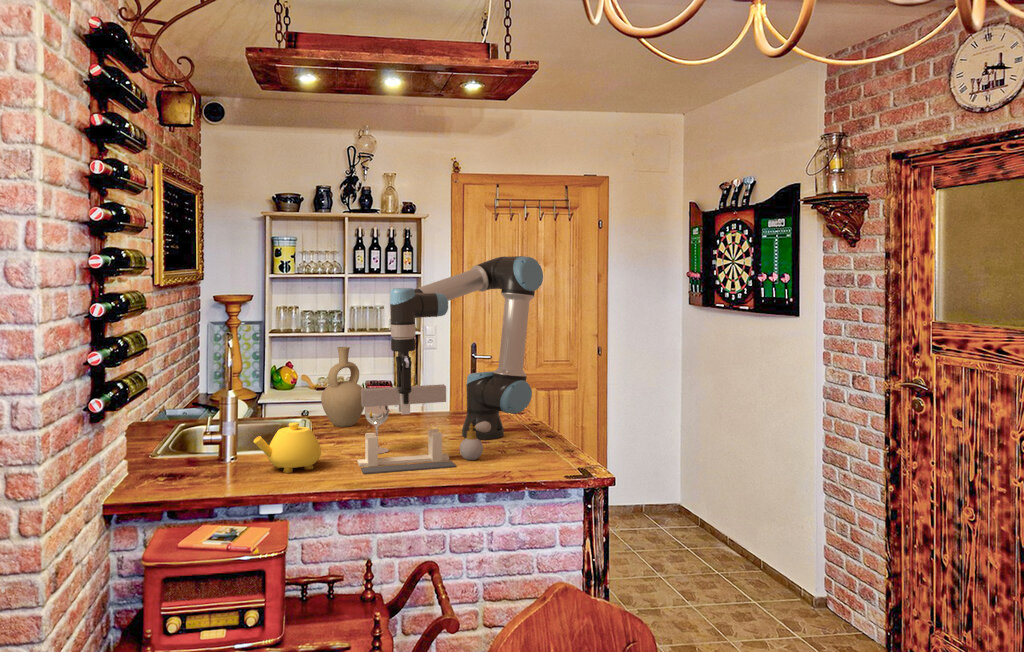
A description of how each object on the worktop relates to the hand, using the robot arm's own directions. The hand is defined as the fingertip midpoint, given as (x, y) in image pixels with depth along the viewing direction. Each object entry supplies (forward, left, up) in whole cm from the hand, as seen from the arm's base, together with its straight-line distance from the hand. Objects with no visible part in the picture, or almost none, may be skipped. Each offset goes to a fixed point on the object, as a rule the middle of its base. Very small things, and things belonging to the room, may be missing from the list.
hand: (404, 412), depth 245 cm
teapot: (+35, -1, -16) cm, 39 cm away
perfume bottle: (-22, +3, -16) cm, 27 cm away
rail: (0, 0, +3) cm, 3 cm away
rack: (0, 0, -16) cm, 16 cm away
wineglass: (+6, -16, -16) cm, 23 cm away
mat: (0, +9, -16) cm, 18 cm away
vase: (+12, -61, -16) cm, 64 cm away
